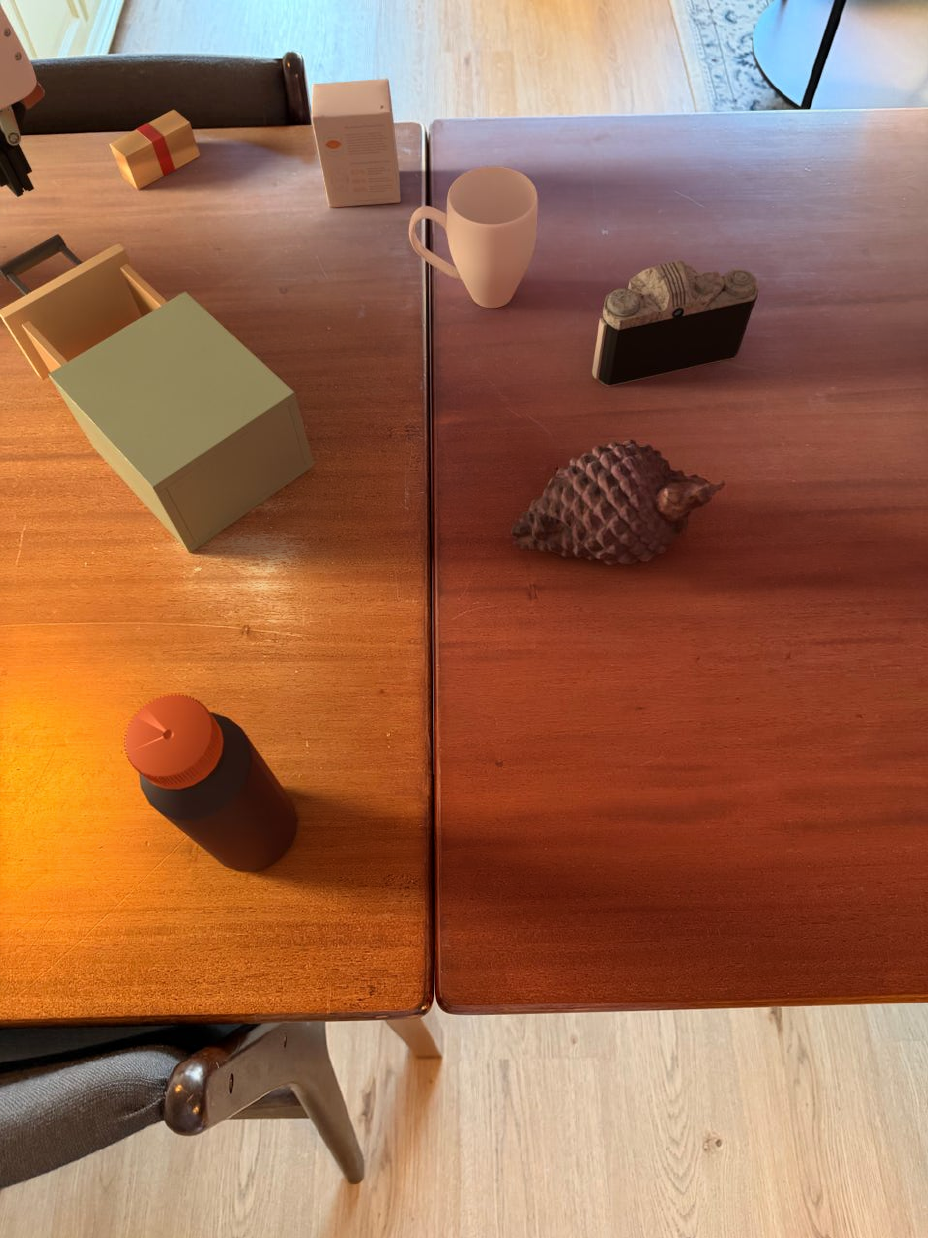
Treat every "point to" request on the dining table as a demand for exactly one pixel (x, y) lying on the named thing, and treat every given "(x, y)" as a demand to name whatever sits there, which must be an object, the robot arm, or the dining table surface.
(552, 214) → the dining table surface
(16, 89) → the robot arm
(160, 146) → the tan rectangular block
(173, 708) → the bottle
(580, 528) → the pine cone
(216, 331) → the cabinet
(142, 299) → the drawer
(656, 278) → the camera
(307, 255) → the dining table surface
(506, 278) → the mug
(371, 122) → the small box
